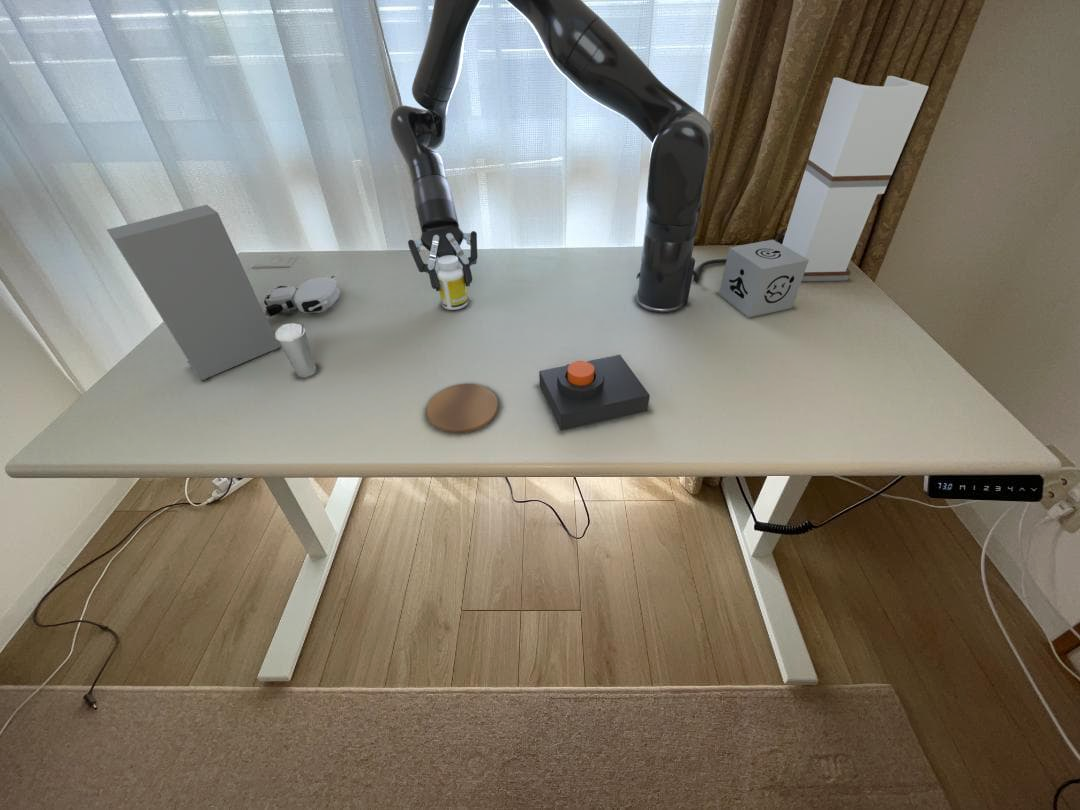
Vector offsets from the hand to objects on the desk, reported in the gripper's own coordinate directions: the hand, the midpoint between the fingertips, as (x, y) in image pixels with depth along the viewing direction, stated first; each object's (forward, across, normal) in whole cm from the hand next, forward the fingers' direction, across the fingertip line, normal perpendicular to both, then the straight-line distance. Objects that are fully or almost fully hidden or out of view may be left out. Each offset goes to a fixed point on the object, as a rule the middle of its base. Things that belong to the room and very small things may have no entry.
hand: (453, 287), depth 97 cm
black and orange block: (+28, +16, -22) cm, 39 cm away
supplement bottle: (+2, 0, +5) cm, 5 cm away
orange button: (+25, +14, -25) cm, 38 cm away
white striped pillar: (+10, +78, -3) cm, 79 cm away
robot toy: (-4, -30, +11) cm, 32 cm away
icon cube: (+16, +58, -9) cm, 61 cm away
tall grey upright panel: (+6, -41, 0) cm, 41 cm away
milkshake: (+13, -28, -6) cm, 31 cm away
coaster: (+25, -4, -19) cm, 32 cm away
